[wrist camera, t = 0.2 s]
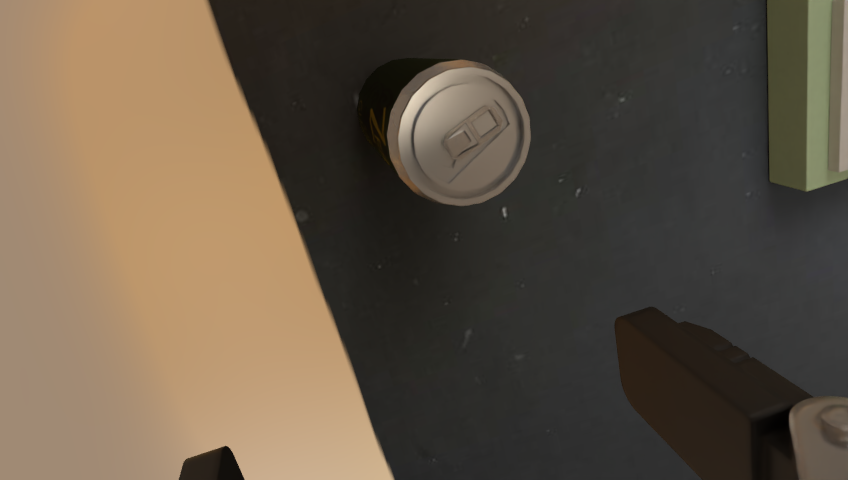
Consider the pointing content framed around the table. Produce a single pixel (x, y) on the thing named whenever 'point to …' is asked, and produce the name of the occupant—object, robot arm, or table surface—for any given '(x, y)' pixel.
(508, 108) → the guarana soda can
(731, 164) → the table surface
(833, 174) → the scale
